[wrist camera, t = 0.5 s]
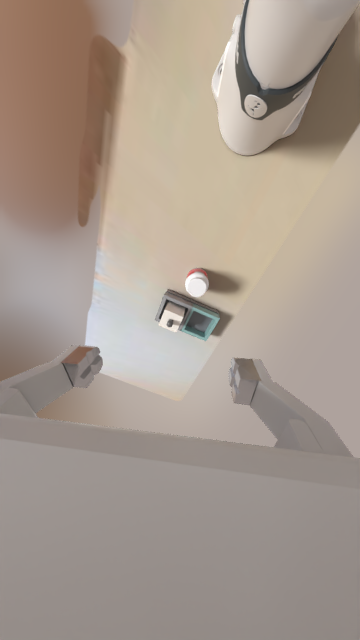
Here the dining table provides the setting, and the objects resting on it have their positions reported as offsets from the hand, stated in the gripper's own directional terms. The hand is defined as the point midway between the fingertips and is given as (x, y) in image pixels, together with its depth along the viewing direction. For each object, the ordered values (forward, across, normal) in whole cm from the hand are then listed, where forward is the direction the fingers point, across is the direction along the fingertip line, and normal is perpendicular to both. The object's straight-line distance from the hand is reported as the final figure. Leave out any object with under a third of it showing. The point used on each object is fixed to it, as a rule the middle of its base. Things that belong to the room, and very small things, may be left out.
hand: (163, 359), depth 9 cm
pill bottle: (+41, -2, +4) cm, 42 cm away
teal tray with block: (+41, 0, +16) cm, 44 cm away
